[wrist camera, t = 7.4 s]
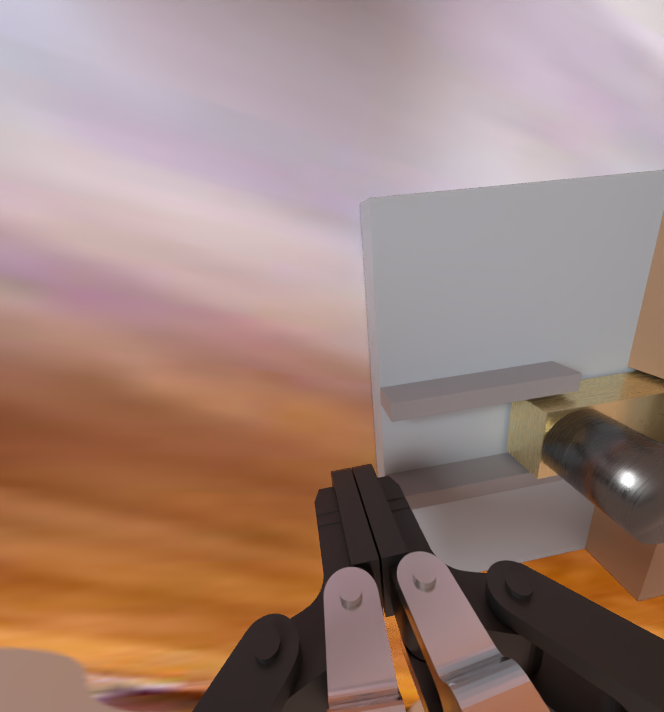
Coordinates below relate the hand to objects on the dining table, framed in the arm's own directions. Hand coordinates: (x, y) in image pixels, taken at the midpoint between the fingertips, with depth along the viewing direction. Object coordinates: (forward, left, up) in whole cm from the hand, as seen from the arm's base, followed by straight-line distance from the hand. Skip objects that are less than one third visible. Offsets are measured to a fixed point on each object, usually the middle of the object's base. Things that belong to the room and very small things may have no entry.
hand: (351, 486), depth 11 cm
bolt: (+13, 0, -2) cm, 13 cm away
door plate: (+10, 0, -4) cm, 11 cm away
